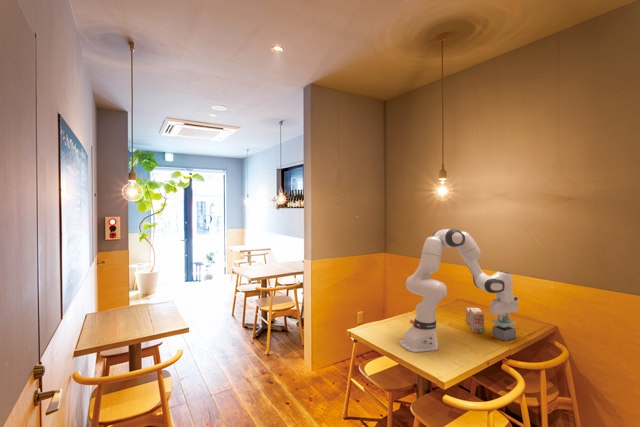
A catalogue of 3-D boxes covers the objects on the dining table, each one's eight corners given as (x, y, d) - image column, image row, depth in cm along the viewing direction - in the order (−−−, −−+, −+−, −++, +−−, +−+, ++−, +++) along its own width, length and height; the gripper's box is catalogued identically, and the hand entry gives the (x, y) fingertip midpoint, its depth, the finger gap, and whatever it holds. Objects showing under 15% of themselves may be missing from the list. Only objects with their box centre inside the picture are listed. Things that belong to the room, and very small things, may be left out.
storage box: (504, 341, 186) (504, 331, 186) (492, 336, 193) (492, 326, 193) (515, 338, 189) (515, 328, 189) (503, 333, 197) (503, 324, 197)
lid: (504, 328, 185) (504, 320, 185) (491, 323, 193) (491, 315, 193) (516, 326, 189) (516, 317, 189) (503, 321, 197) (503, 313, 197)
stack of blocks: (465, 320, 220) (465, 303, 220) (475, 321, 219) (475, 303, 218) (473, 332, 199) (473, 313, 199) (484, 333, 198) (484, 314, 198)
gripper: (496, 300, 184) (496, 324, 184) (520, 297, 191) (520, 319, 192) (487, 298, 190) (487, 320, 190) (510, 294, 197) (510, 316, 197)
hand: (503, 320), depth 191 cm, fingers closed on lid, 3 cm apart
